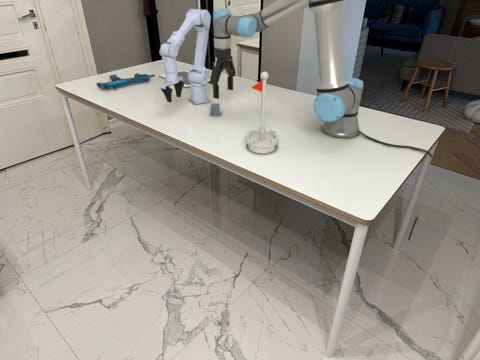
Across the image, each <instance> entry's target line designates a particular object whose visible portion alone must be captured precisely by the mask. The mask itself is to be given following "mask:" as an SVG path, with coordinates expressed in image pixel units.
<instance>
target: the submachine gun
mask: <svg viewBox="0 0 480 360" xmlns="http://www.w3.org/2000/svg"><path fill="white" fill-rule="evenodd" d="M154 77H156V74H147V73H142V74H141V73H139V72H137V73H135V74H133V77H128V78H121V77H119V76H118V75H117V74H110V75H109V79H111V81H107V82H96V83H95V84H96V87H98V88H99V89H101V90H102V91H103V90H109V89H113V90H116V88H118V87H119V88H120V87H122V86H127V85H133V84H138V83H142V82H148V81H149V80H150V79H151V78H154Z"/></svg>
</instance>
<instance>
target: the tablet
mask: <svg viewBox="0 0 480 360" xmlns="http://www.w3.org/2000/svg"><path fill="white" fill-rule="evenodd" d="M189 71H190V70H187V69H182V70H181V69H180V70H177V74H178V77H179V76H180V77H183V81H182V82H184V86H183V88H190V86H191V84H190V82H189V81H188V73H189ZM158 76H159V77H161V78H163V79H164V80H165V79H166V77H165V73H163V74H158ZM210 79H211V78H209V80H208V83H210Z"/></svg>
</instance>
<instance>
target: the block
mask: <svg viewBox="0 0 480 360" xmlns="http://www.w3.org/2000/svg"><path fill="white" fill-rule="evenodd" d="M220 115H221V103H216V102H215V103H214V102H213V103H212V102H211V103H210V116H216V117H217V116H219V117H220Z"/></svg>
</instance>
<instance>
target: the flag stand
mask: <svg viewBox="0 0 480 360" xmlns="http://www.w3.org/2000/svg"><path fill="white" fill-rule="evenodd" d="M269 76H270V75H269V72H267V71H262V72H261V73H260V79H261V80H260V81H259V82H257V83H256V84H254V85H253V86H251V87H250V88H251V89H253V90H256V91H257V92H260V93H261V105H260V106H261V107H260V127H259V128H258V130H255V129H254V128H252V129H249V130H248V133H247V132H246V133H245V143H247V147H248V149H249V150H250V152H253V153H256V154H269V153H272V152H274V151H275V150H276V147H277V146H276V145H278V144H279V139H280V134H279V133H276V130H274V129H272V128H270V129H269V130H266V127H265V126H266V125H265V124H266V103H267V101H266V100H267V80H268V79H269Z"/></svg>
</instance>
